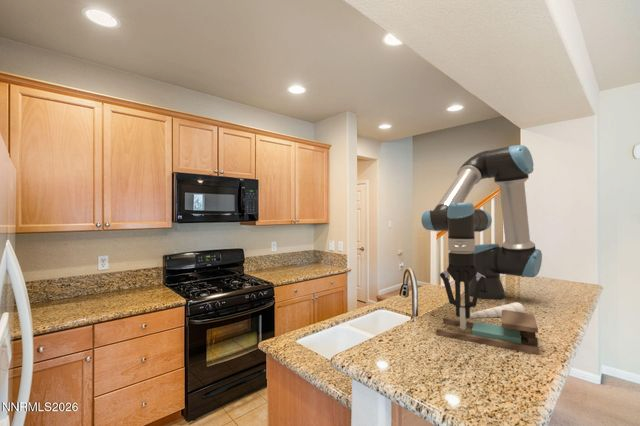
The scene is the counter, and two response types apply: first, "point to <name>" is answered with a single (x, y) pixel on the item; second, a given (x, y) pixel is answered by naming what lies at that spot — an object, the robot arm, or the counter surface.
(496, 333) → the tile
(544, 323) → the counter surface
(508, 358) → the counter surface
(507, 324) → the overhang
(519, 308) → the unicorn horn
